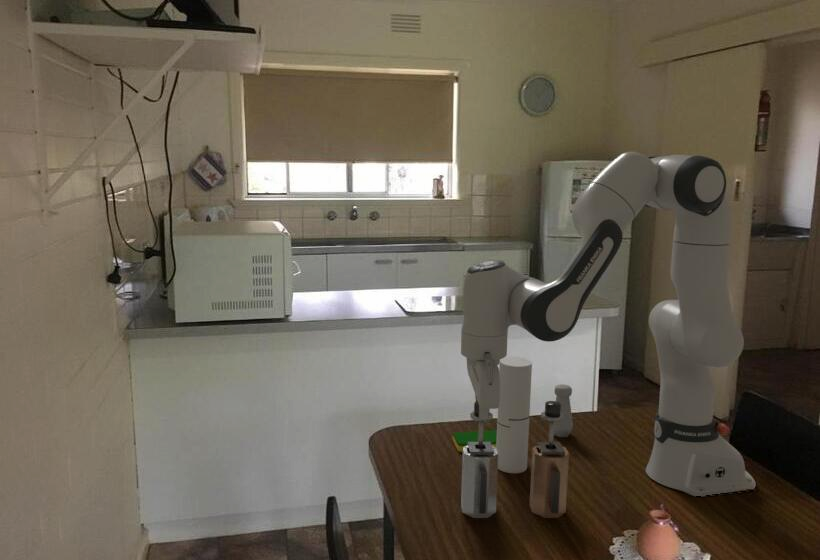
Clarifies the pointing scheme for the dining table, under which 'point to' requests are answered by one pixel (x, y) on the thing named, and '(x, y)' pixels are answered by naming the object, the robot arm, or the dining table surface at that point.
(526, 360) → the cylindrical container
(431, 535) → the dining table surface
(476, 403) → the steel press plunger
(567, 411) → the salt shaker
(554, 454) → the copper press carafe
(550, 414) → the copper press plunger
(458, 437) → the dish sponge
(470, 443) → the steel press carafe
